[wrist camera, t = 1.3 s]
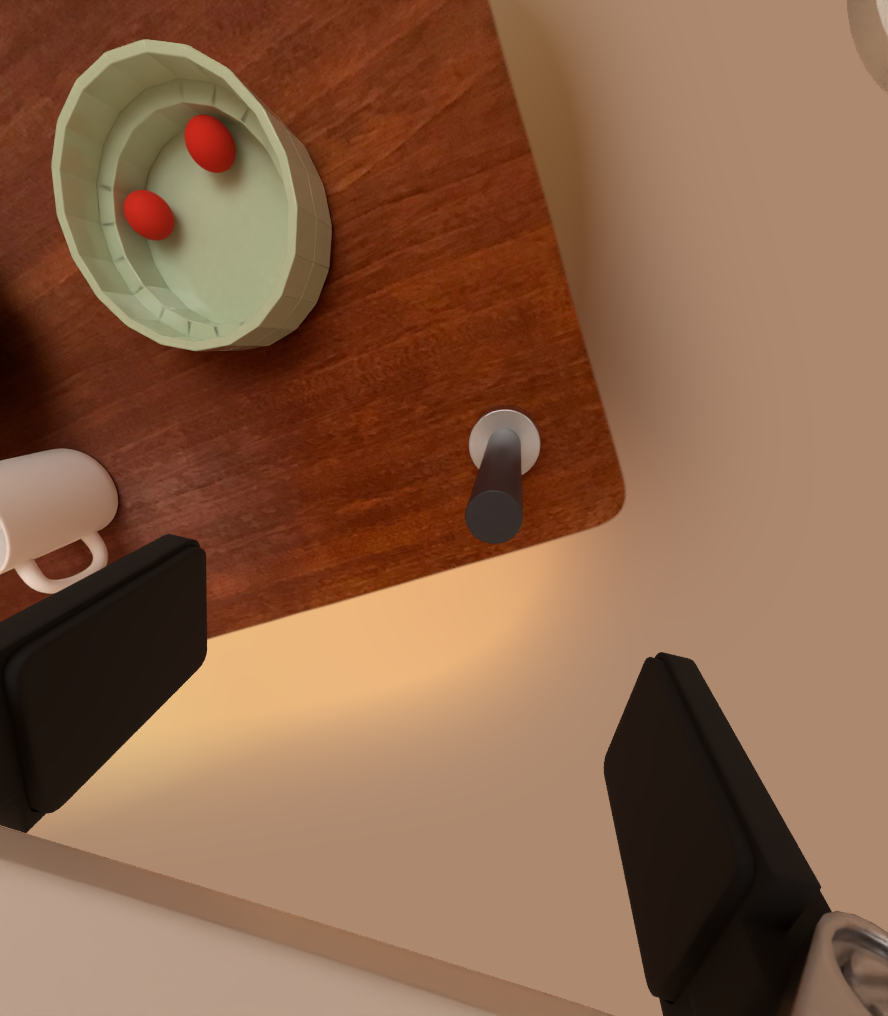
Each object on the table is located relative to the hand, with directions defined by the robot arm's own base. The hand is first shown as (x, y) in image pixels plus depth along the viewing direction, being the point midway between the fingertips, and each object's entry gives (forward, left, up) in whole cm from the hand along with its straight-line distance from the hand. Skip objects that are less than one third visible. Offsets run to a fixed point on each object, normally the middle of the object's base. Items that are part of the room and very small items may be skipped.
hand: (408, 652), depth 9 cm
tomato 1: (+26, -11, -26) cm, 38 cm away
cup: (+36, +14, -28) cm, 48 cm away
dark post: (-1, 0, -28) cm, 28 cm away
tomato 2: (+22, -15, -26) cm, 37 cm away
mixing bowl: (+22, -11, -28) cm, 37 cm away
